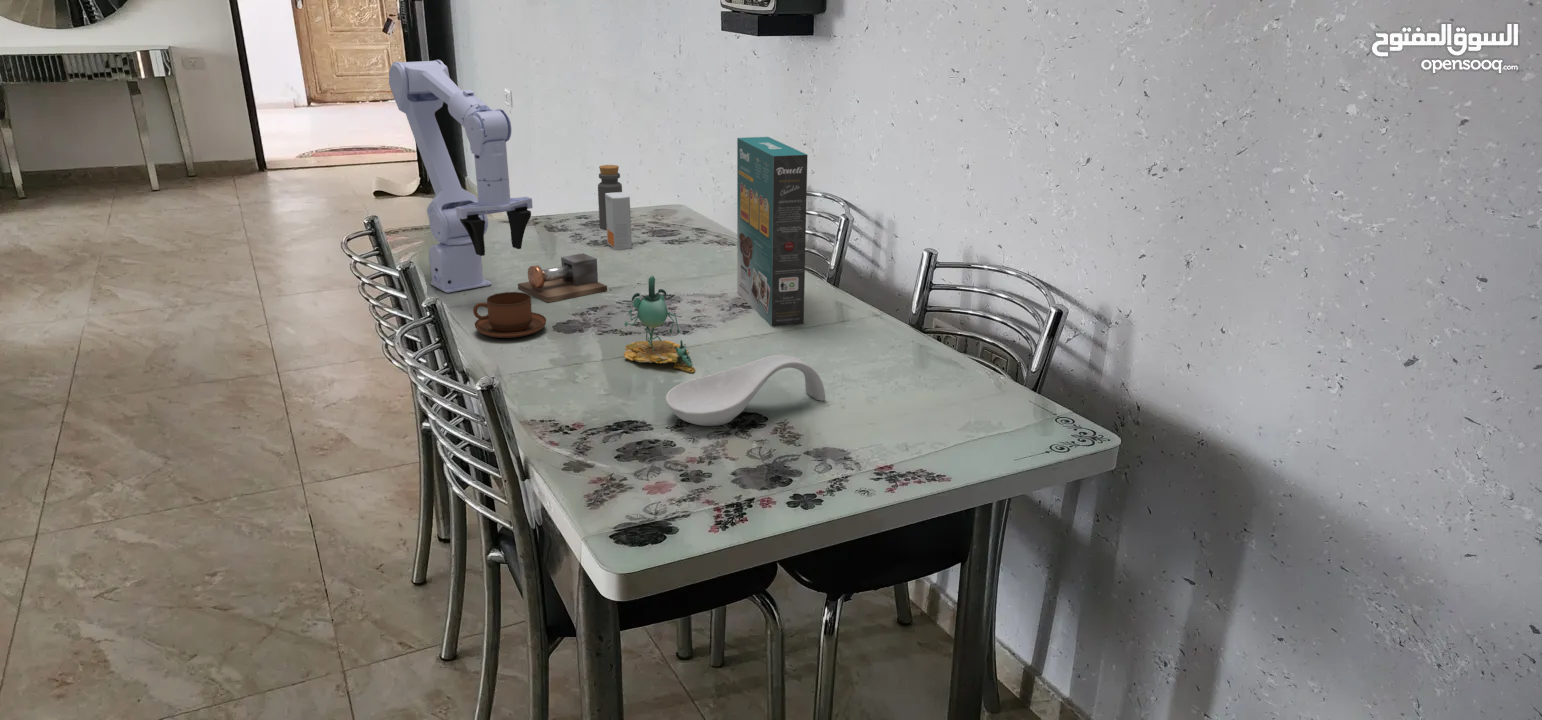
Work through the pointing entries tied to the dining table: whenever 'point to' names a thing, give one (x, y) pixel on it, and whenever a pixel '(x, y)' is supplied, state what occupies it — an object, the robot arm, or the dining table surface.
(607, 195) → the skincare box
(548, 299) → the stand
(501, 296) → the cup and saucer
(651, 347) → the teal creature figurine
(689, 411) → the spoon rest
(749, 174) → the cake mix box
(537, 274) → the shaft
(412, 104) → the robot arm
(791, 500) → the dining table surface
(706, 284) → the dining table surface
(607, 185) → the bottle
